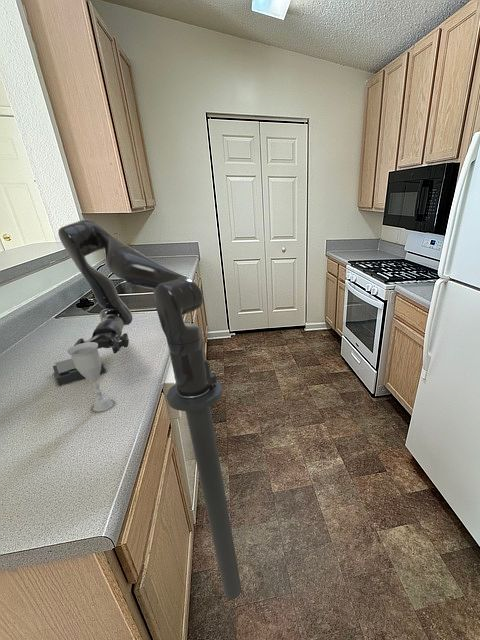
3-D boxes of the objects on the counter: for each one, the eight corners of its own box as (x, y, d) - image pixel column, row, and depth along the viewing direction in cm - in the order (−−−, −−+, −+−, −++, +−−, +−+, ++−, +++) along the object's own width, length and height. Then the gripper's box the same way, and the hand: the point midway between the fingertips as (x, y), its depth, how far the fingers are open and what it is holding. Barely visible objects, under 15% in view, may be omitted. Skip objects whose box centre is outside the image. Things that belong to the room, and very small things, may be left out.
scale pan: (92, 354, 116) (92, 353, 116) (98, 363, 110) (97, 361, 110) (55, 364, 110) (55, 362, 110) (59, 374, 104) (58, 372, 103)
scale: (98, 361, 118) (95, 353, 117) (105, 372, 111) (102, 363, 109) (55, 372, 111) (51, 364, 109) (59, 385, 103) (55, 376, 102)
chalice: (96, 399, 96) (76, 342, 88) (120, 397, 96) (102, 341, 88) (84, 414, 89) (61, 354, 81) (110, 412, 90) (90, 353, 82)
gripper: (80, 324, 106) (65, 344, 93) (128, 319, 110) (121, 337, 96) (87, 346, 110) (74, 368, 96) (134, 340, 114) (128, 360, 100)
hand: (98, 352), depth 96 cm, fingers open, 8 cm apart
